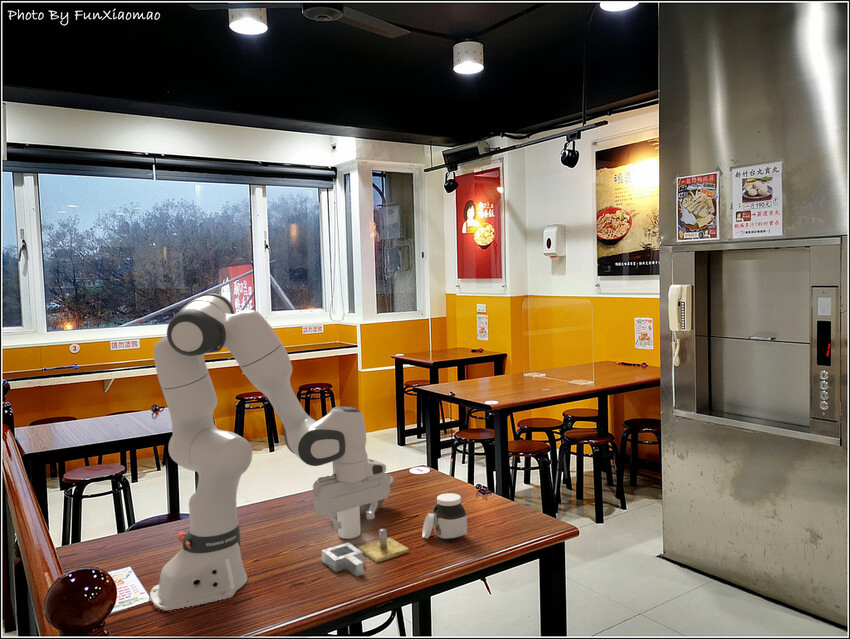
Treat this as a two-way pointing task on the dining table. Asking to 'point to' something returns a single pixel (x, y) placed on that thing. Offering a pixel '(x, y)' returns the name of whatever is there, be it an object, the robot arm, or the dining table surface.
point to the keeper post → (383, 548)
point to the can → (349, 523)
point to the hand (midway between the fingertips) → (354, 523)
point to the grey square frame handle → (344, 559)
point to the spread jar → (447, 519)
